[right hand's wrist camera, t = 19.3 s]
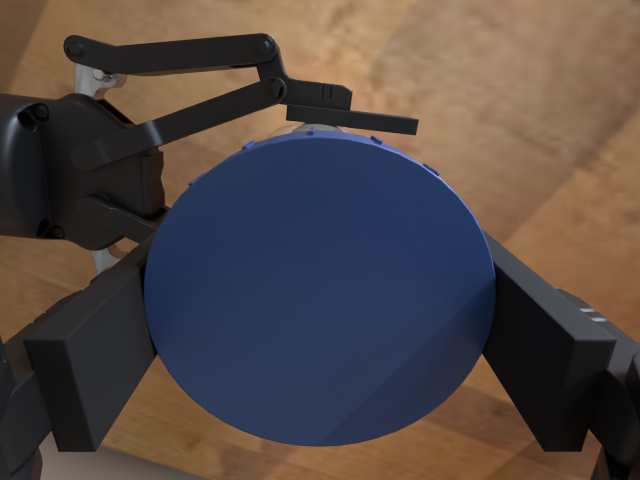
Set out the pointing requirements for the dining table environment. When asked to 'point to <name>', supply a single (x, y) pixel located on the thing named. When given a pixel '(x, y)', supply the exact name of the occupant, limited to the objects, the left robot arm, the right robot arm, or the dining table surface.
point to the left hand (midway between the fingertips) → (395, 207)
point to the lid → (319, 289)
